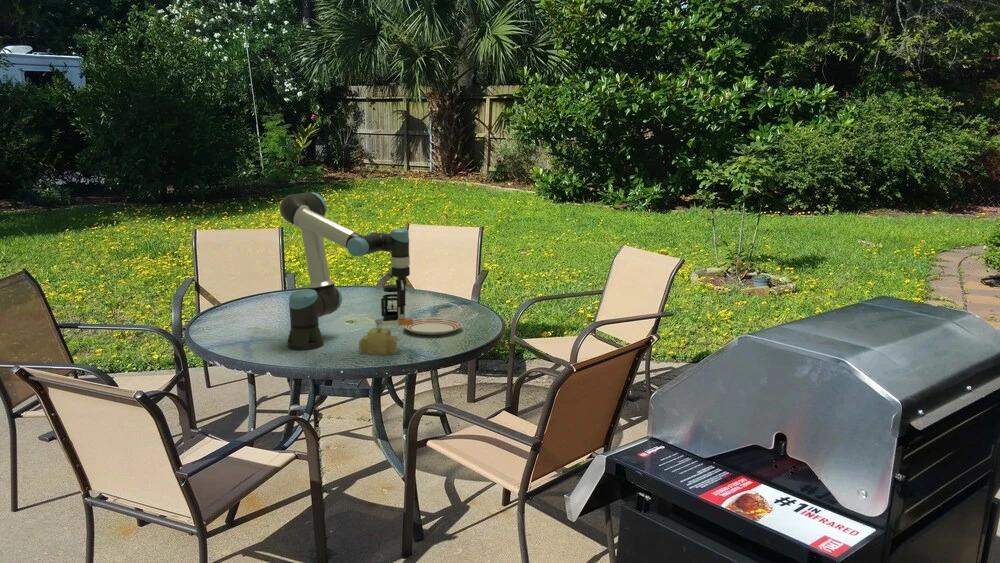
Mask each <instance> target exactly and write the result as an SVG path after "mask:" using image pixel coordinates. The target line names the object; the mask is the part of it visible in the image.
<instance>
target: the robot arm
mask: <svg viewBox="0 0 1000 563" xmlns="http://www.w3.org/2000/svg"><path fill="white" fill-rule="evenodd" d="M327 208H328V207H327V203H326V201H325V199H324V197H323V196H321V195H320V194H319V193H316V192H302V193H292V194H289V195H287V196H285V197H283V199H282V200H281V202H280V204H279V212H280V215H281V217H282V219H284V220H285V221H286V222H287V223H289V224H291V225H292V226H295V227H298V228H299V229H300V231H301V235H302V242H303V248H304V254H305V260H306V265H307V269H308V276H309V281H310V282H309V284H308V285H307V289H305V288H304V289H302V290H299V289H298V290H296V291H294V292H292V293H291V294H290V295H289V297H288V299H289V301H288V306H289V309H288V310H289V322H290V324H289V325H290V330H289V334H288V336H287V337H288V338H287V341H286V345H287V348H288V349H291V350H297V351H301V350H302V351H303V350H304V351H306V350H313V349H317V348H321V347H322V346H324V338H323V335H322V331H321V329H320V327H319V318H321V317H324V316H327V315H330V314H333V313H334V312H336V311H337V310H338V309H340V307H341V305H342V303H343V296H342V292H341V291H340V290H339V288H338V287H336V285H335V281H333V280H331V278H330V272H329V268H328V267H329V265H328V260H327V259H328V258H327V255H326V249H325V248H326V247H325V242H324V241H325V240H324V238H325V239H327V240H329V241H331V242H333V243H335V244H337V245H339V246H341V247H343V248H345V249H347V251H348V253H349V254H350V255H351V256H353V257H363V256H367V255H369V254H372V253H377V252H390V258H389V261H390V263H391V268H390V269H391V274H392V276H393V278H396V279H395V285H396V288H397V292H396V294H397V297H396V298H397V300H398V301H397V300H396V303H397V302H398V305H397V304H396V305H397V307H398V319H406V306H407V305H406V291H407V290H406V287H407V280H406V279H405V278H406V277H409V276H410V273H411V272H410V271H411V270H410V265H411V264H410V233H409V230H407V229H405V228H393V229H391V230H390V233H388V232H387V233H386V232H385V233H384V232H377V231H375V232H371V231H370V232H367V233H366V235H362V234H360V233H358V232H356V231H355V230H352V229H350V228H348V227H346V226H344V225H342V224H340V223H337V222H335V221H333V220H331V219H329V218H327V217H326V216H325V215H326V213H327V210H328V209H327Z"/></svg>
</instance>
